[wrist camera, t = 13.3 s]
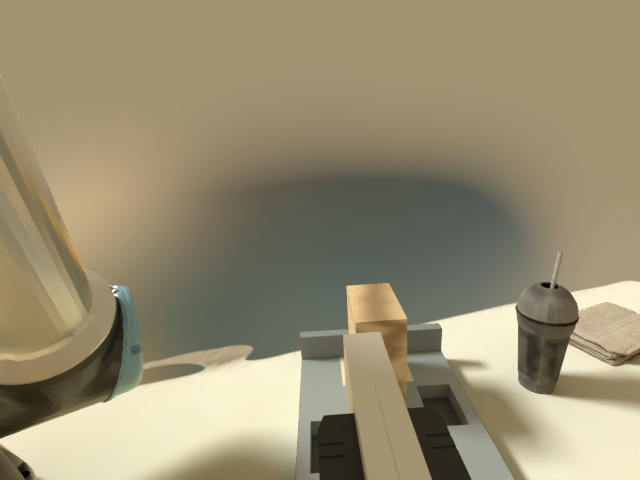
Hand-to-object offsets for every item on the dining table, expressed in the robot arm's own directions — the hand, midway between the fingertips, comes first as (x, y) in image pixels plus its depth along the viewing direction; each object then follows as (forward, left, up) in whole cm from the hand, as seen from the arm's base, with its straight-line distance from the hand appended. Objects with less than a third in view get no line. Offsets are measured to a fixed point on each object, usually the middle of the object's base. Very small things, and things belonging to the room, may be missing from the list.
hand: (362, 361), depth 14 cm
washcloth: (+47, +40, -29) cm, 68 cm away
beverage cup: (+28, +30, -28) cm, 50 cm away
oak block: (+5, +29, -25) cm, 39 cm away
